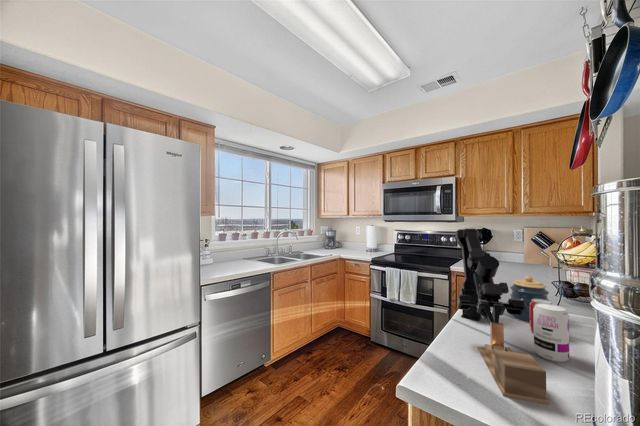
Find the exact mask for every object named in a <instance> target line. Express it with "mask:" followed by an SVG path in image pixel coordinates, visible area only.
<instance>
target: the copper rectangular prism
mask: <svg viewBox="0 0 640 426" xmlns="http://www.w3.org/2000/svg"><path fill="white" fill-rule="evenodd" d="M504 326H505V325H504V323H502V322H498V323H494V322H490V324H489V327H490V328H489V329H490V346H491V348H492V349H493V351H494V350H501V351H505V330H504V329H505V327H504Z"/></svg>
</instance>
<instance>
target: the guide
mask: <svg viewBox="0 0 640 426" xmlns="http://www.w3.org/2000/svg"><path fill="white" fill-rule="evenodd" d="M504 349H505V351H501V350H494V351H493V349H492V348H491V344H484V347H482V346H477V350H478V352H479V354H480V355H481V358H482V359H483V362H484V364H485V365H486V367H487V368H488V370H489V372H490V374H491V376H492V378H493V380H494V381H495V383H496V385H497V387H498V389H499V391H500V393H501V394H502V396H503V397H509V398H513V399H514V398H515V399H520V400H524V401H530V402H534V403H540V404H541V403H542V404H545V405H550V400H549V399H548V397H547V371H546V370H545V369H544V368H543V367H542V365H540V363H539V362H538V361H536V359H535V358H534V357H533V356H532V355H531V354H528V353H521V352H515V351H513V350H512V349H511V348H510V347H508V346H504Z"/></svg>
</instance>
